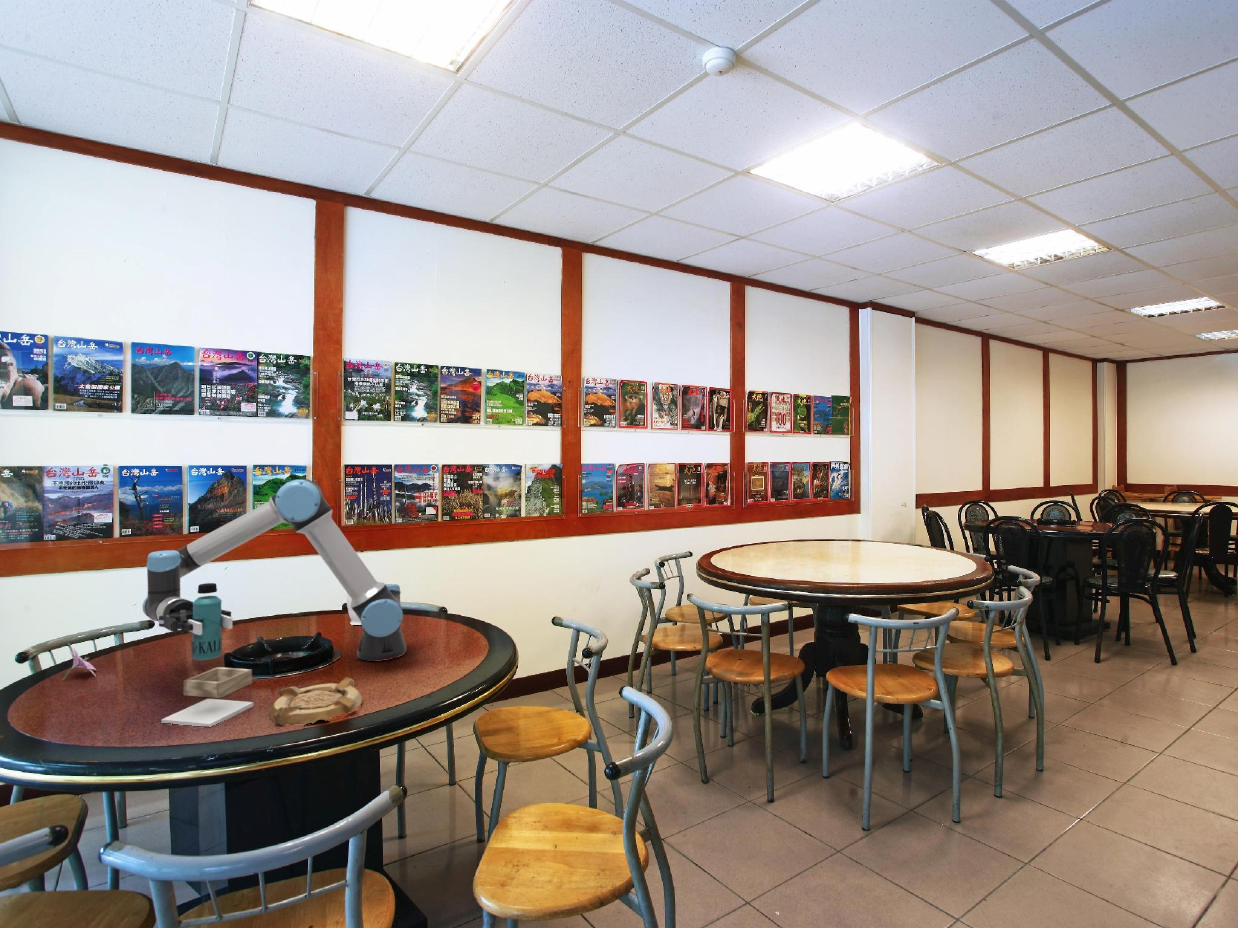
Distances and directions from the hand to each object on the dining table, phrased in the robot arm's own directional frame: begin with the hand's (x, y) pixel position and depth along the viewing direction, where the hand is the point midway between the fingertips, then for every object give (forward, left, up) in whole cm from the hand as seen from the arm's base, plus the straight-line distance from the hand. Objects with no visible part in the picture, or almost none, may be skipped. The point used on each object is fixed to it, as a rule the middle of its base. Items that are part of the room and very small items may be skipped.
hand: (215, 626), depth 163 cm
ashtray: (-20, -11, -24) cm, 33 cm away
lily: (+65, -20, -24) cm, 72 cm away
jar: (+18, -90, -23) cm, 95 cm away
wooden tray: (+16, -18, -23) cm, 34 cm away
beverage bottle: (+5, -2, -10) cm, 11 cm away
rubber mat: (+4, -2, -23) cm, 24 cm away
